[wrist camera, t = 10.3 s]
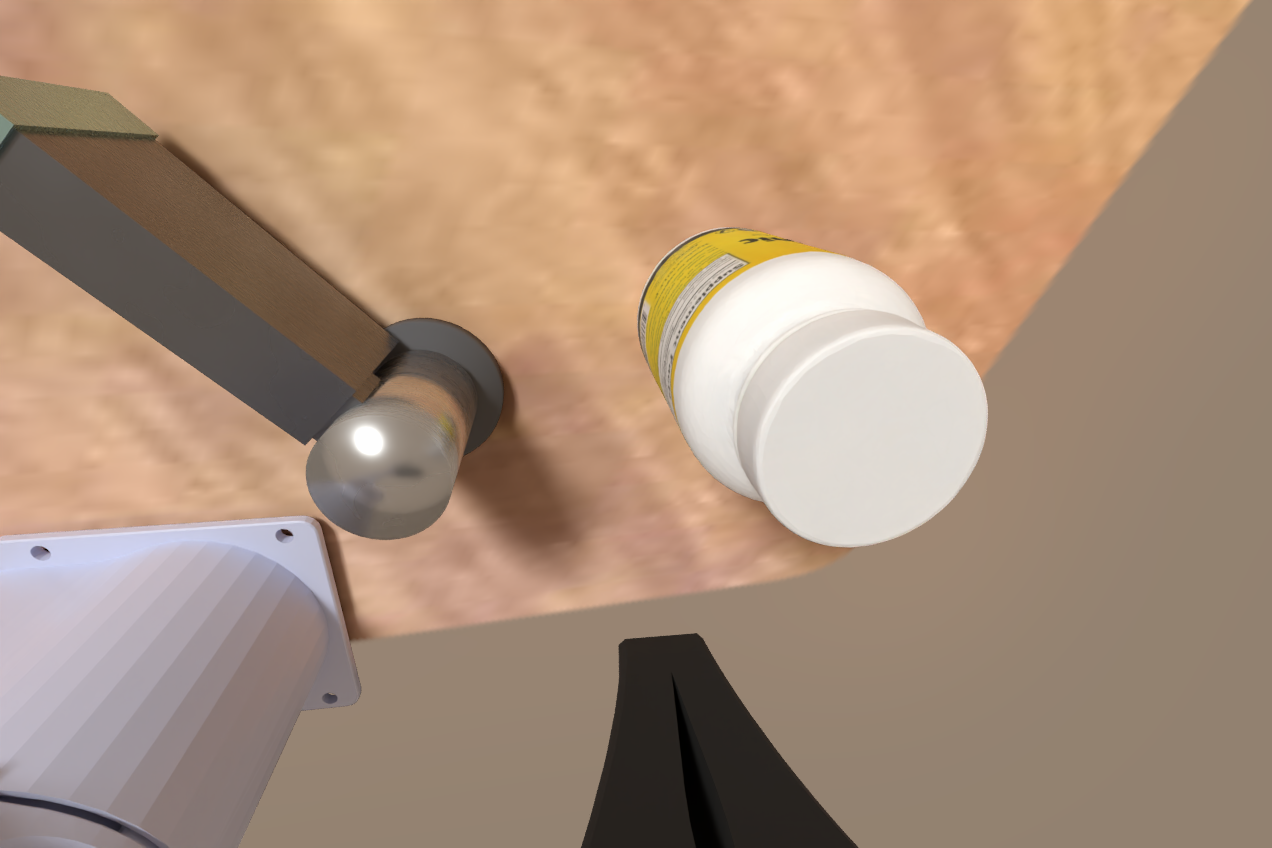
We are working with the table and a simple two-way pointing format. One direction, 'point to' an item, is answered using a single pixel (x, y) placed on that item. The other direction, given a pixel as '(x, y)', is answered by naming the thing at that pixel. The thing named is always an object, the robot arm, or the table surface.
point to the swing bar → (233, 305)
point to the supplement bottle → (811, 385)
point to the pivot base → (467, 355)
